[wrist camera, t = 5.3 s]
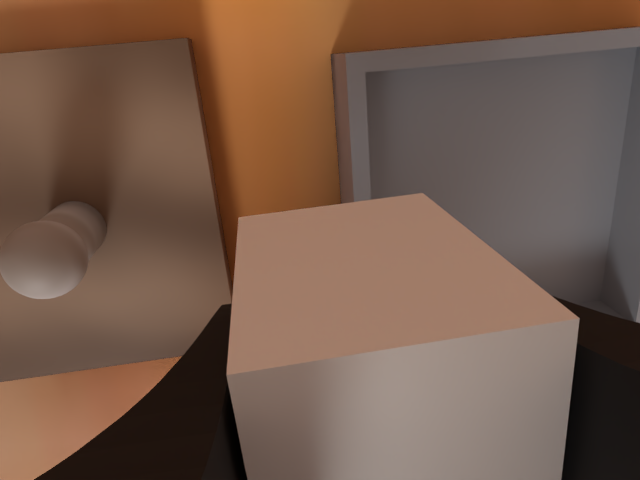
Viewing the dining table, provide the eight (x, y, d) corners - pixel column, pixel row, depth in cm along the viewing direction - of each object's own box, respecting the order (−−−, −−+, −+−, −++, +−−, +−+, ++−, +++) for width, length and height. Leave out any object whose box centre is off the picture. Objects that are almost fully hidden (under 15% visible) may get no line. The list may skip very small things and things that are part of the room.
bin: (599, 302, 23) (646, 335, 21) (350, 338, 22) (364, 378, 20) (638, 26, 19) (705, 21, 16) (330, 53, 18) (345, 53, 15)
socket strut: (422, 192, 12) (579, 318, 6) (425, 348, 13) (552, 560, 8) (238, 217, 11) (226, 375, 6) (264, 374, 13) (274, 616, 7)
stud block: (239, 332, 21) (236, 416, 16) (2, 366, 21) (-79, 466, 16) (191, 39, 17) (166, 32, 12) (-114, 64, 16) (-278, 68, 11)
